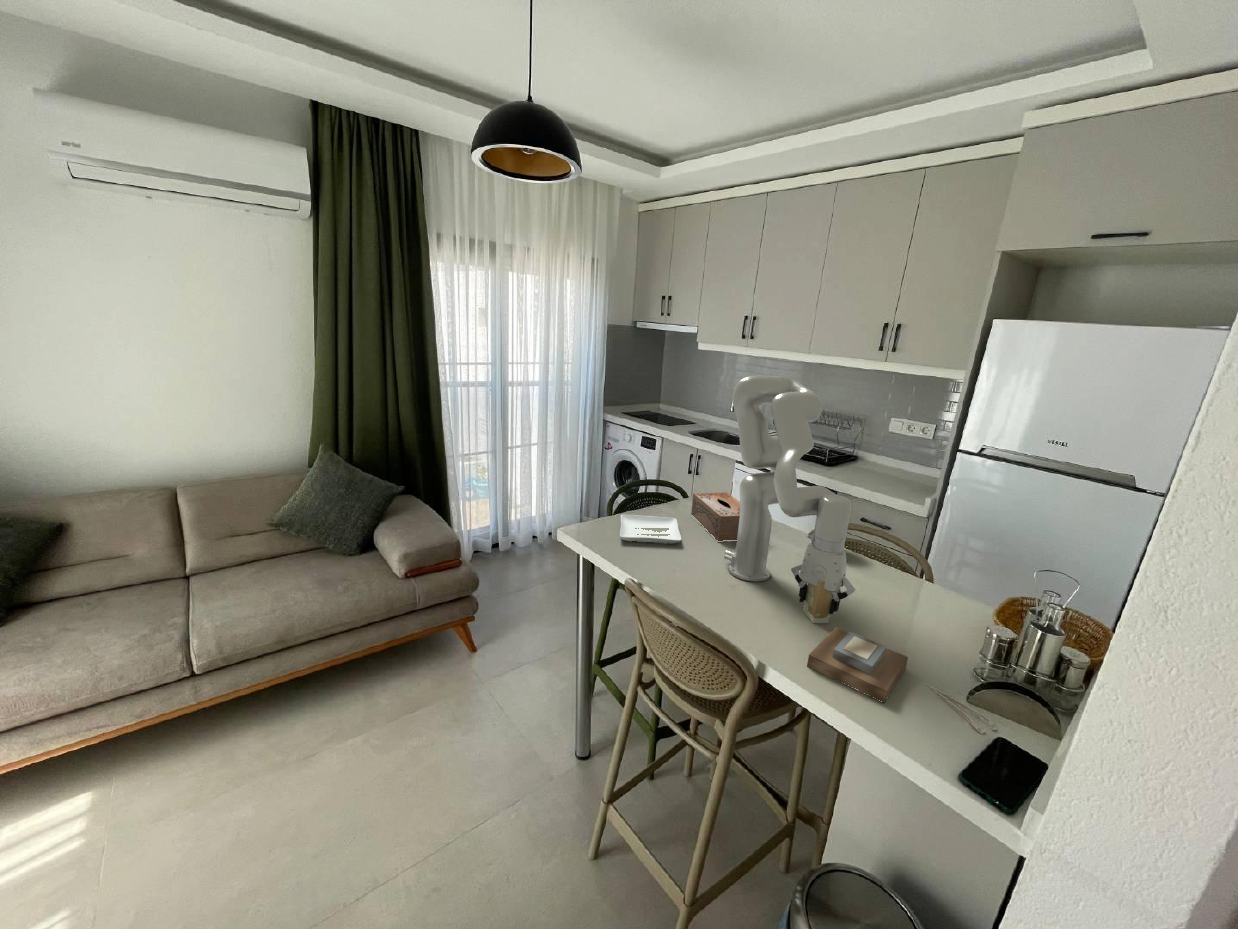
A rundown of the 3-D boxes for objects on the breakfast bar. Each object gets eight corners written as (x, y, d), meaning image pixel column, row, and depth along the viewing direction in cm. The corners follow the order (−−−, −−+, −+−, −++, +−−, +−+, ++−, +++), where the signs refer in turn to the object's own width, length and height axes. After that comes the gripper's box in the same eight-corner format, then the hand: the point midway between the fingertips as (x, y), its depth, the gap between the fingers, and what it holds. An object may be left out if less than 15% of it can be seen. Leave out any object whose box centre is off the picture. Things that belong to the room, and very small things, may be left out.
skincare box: (802, 610, 136) (809, 569, 133) (817, 610, 136) (825, 569, 133) (813, 624, 130) (820, 580, 126) (829, 624, 130) (837, 581, 127)
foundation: (806, 666, 113) (810, 646, 111) (833, 637, 124) (837, 619, 123) (884, 703, 102) (888, 681, 101) (905, 668, 114) (910, 648, 112)
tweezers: (998, 732, 97) (999, 723, 96) (979, 737, 95) (981, 728, 95) (920, 679, 113) (921, 671, 113) (903, 682, 112) (904, 674, 111)
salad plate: (681, 548, 172) (682, 539, 171) (619, 545, 172) (619, 535, 171) (675, 525, 193) (676, 517, 192) (619, 522, 193) (620, 514, 192)
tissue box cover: (690, 517, 202) (693, 493, 200) (724, 515, 206) (726, 492, 203) (717, 543, 178) (720, 516, 176) (754, 541, 182) (758, 515, 179)
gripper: (788, 536, 130) (779, 598, 135) (859, 559, 119) (846, 625, 124) (801, 529, 136) (791, 589, 140) (869, 550, 125) (857, 614, 129)
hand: (817, 606), depth 132 cm, fingers closed on skincare box, 7 cm apart
